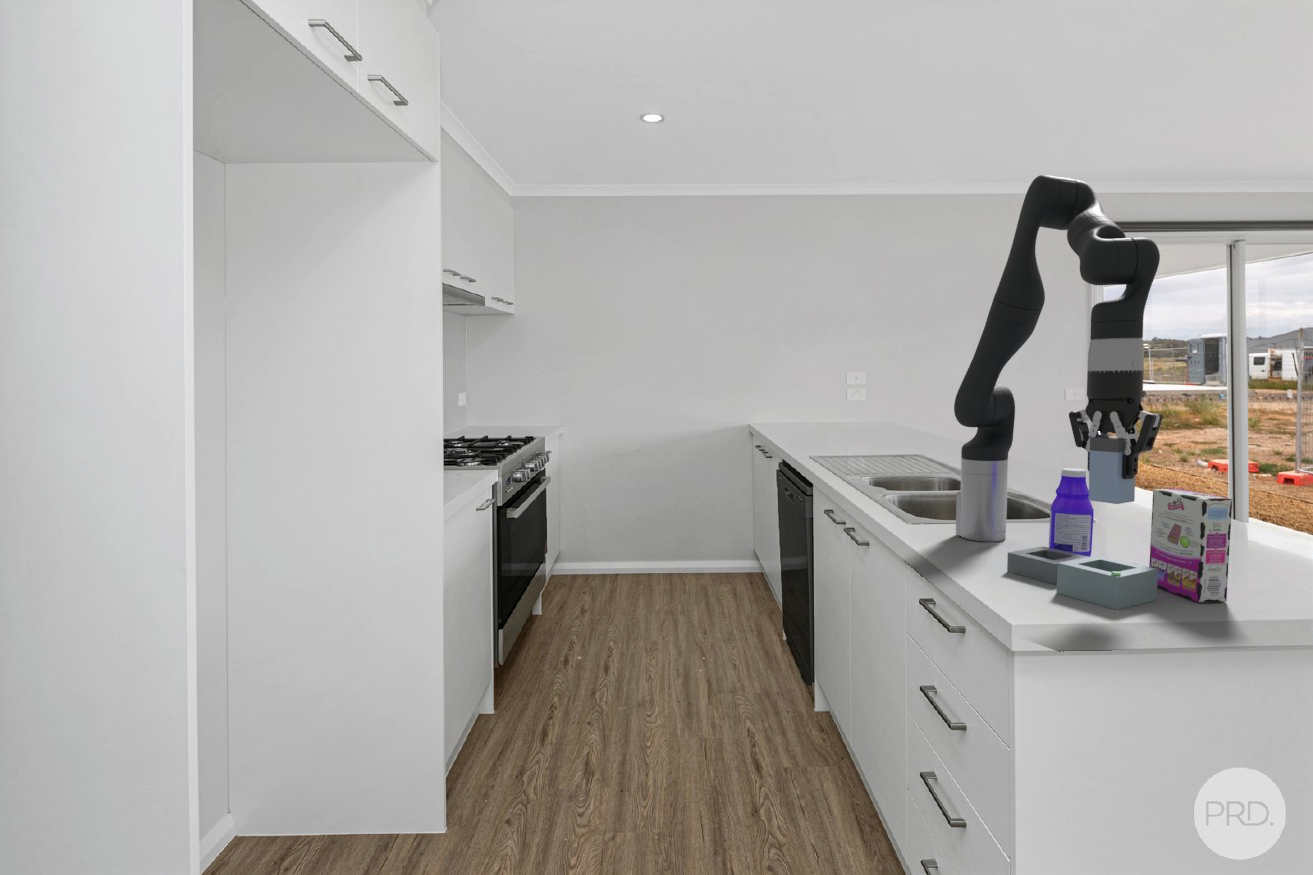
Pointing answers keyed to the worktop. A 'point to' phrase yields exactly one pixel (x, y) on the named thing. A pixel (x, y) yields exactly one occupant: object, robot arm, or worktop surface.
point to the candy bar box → (1191, 543)
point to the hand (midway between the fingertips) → (1111, 476)
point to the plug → (1108, 472)
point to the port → (1107, 581)
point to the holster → (1039, 562)
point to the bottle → (1072, 514)
